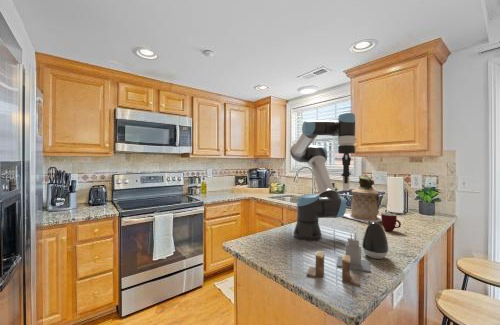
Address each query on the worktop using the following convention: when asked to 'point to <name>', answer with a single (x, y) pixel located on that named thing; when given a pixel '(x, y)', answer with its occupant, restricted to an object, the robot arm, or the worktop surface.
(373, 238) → the pump dispenser
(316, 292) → the worktop surface
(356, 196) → the cookie jar
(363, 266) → the mat
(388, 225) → the mug
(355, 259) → the power adapter
